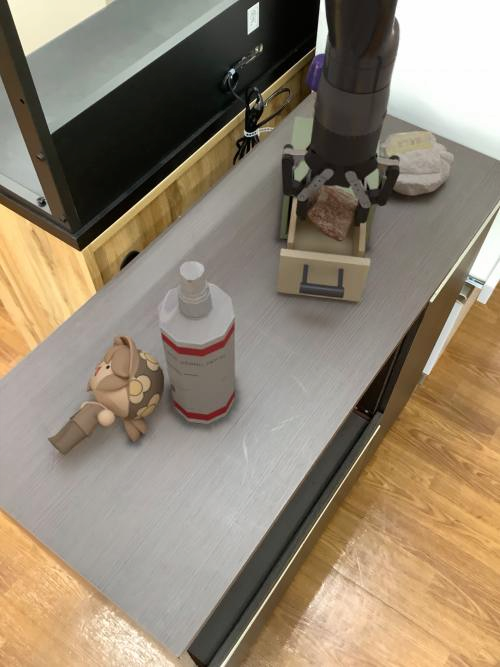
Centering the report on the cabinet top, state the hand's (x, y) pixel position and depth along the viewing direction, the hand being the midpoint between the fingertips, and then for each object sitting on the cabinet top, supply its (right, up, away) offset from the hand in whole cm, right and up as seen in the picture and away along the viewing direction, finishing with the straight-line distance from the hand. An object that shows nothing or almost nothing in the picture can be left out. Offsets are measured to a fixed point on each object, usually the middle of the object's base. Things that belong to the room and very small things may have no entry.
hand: (329, 218), depth 81 cm
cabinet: (+1, +5, +15) cm, 16 cm away
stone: (0, 0, +1) cm, 1 cm away
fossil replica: (+15, +9, +19) cm, 26 cm away
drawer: (0, -6, +7) cm, 9 cm away
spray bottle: (-16, -23, -3) cm, 28 cm away
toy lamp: (0, +15, +22) cm, 27 cm away
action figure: (-27, -25, -5) cm, 37 cm away
